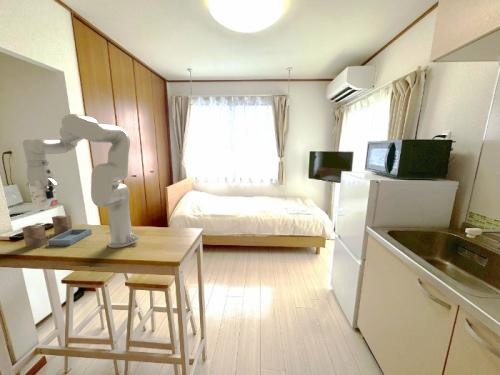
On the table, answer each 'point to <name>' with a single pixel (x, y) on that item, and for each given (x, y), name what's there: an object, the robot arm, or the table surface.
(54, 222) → the right walnut block
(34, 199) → the ink cartridge box
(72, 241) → the tray
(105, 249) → the table surface
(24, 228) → the left walnut block
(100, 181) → the robot arm
